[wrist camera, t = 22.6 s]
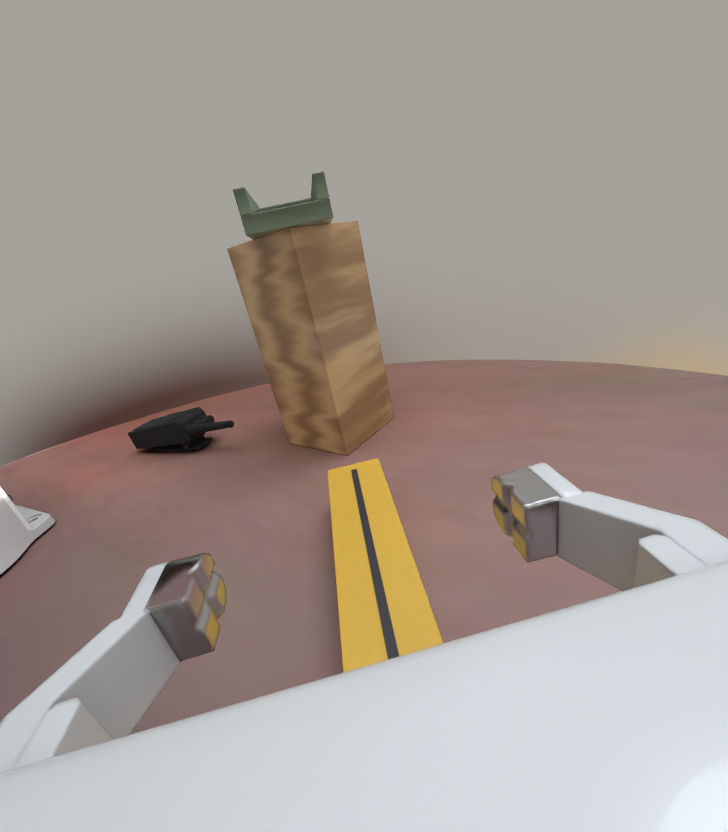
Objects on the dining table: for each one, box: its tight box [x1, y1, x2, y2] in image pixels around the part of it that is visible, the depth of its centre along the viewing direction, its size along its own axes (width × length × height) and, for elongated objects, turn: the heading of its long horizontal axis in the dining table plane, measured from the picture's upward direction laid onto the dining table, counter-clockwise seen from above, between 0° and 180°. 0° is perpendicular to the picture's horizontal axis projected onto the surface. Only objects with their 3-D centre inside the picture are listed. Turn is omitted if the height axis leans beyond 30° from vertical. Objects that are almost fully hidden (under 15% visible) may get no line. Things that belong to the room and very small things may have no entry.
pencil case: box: [327, 458, 443, 672], centre depth 22 cm, size 22×4×4 cm, turn 8°
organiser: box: [228, 171, 394, 455], centre depth 42 cm, size 15×14×28 cm
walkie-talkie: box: [128, 407, 234, 451], centre depth 51 cm, size 6×6×20 cm
